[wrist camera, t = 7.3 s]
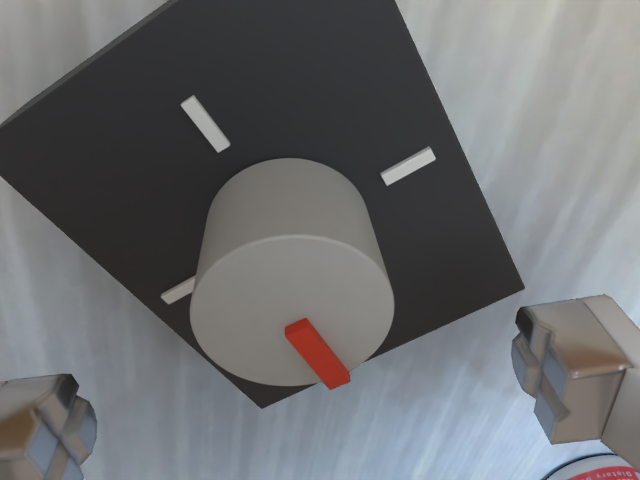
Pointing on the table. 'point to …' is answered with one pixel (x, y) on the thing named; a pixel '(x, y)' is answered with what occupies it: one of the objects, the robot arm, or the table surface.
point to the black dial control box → (258, 152)
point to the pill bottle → (597, 469)
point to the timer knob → (290, 277)
